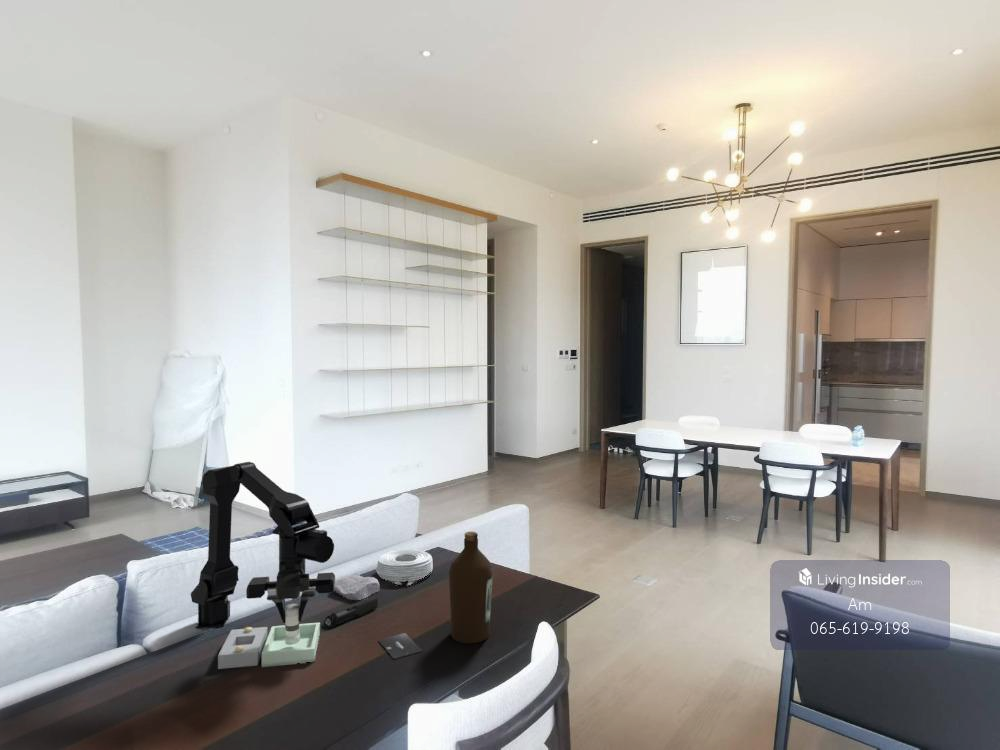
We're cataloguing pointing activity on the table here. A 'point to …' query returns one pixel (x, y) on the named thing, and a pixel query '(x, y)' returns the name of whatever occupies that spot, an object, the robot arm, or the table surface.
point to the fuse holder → (243, 647)
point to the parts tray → (291, 646)
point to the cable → (404, 565)
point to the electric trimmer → (350, 613)
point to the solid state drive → (399, 646)
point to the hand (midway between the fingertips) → (292, 621)
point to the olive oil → (470, 593)
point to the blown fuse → (292, 624)
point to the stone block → (356, 586)
